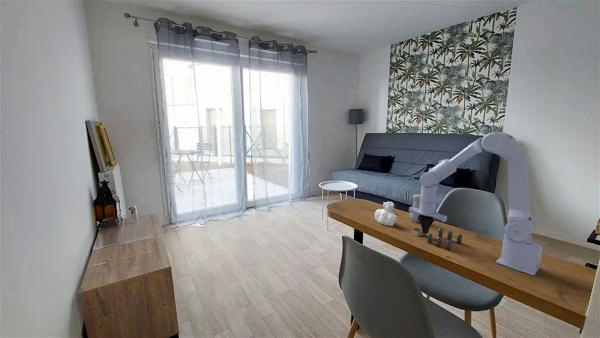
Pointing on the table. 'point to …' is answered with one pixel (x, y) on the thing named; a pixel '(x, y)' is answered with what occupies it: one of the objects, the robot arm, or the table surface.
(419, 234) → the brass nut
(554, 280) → the table surface
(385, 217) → the duck figurine
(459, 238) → the black spacers
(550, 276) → the table surface
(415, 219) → the salt shaker
